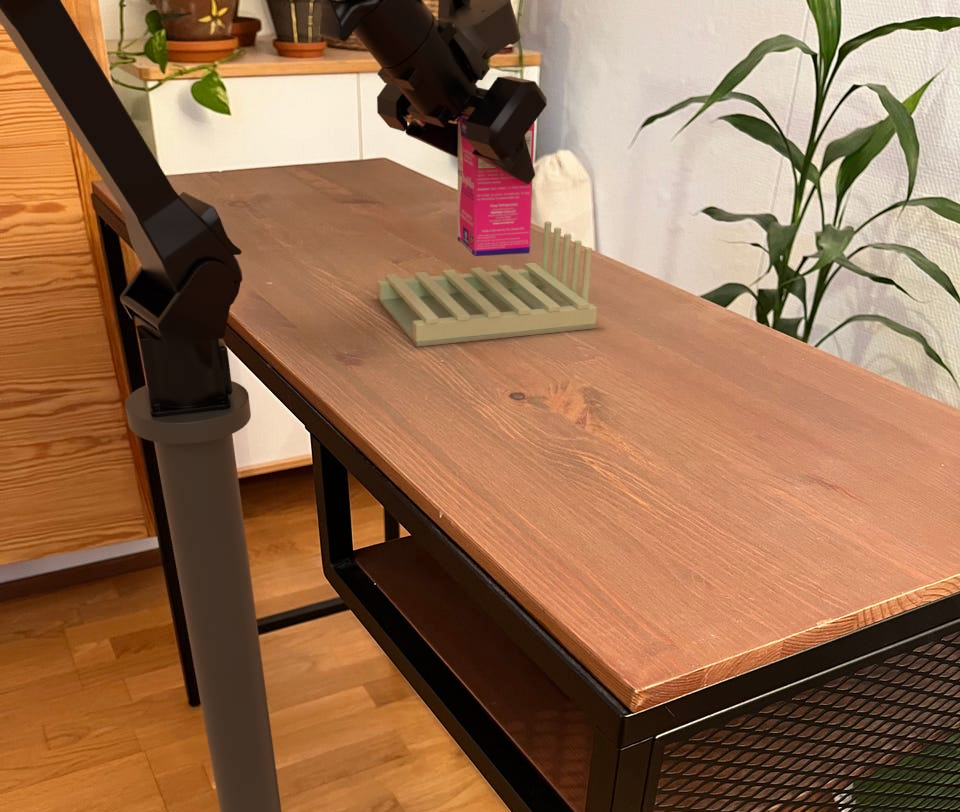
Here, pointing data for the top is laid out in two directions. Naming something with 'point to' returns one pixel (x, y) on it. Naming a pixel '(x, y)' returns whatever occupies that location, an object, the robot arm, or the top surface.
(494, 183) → the supplement box
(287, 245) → the top surface
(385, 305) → the drying rack
